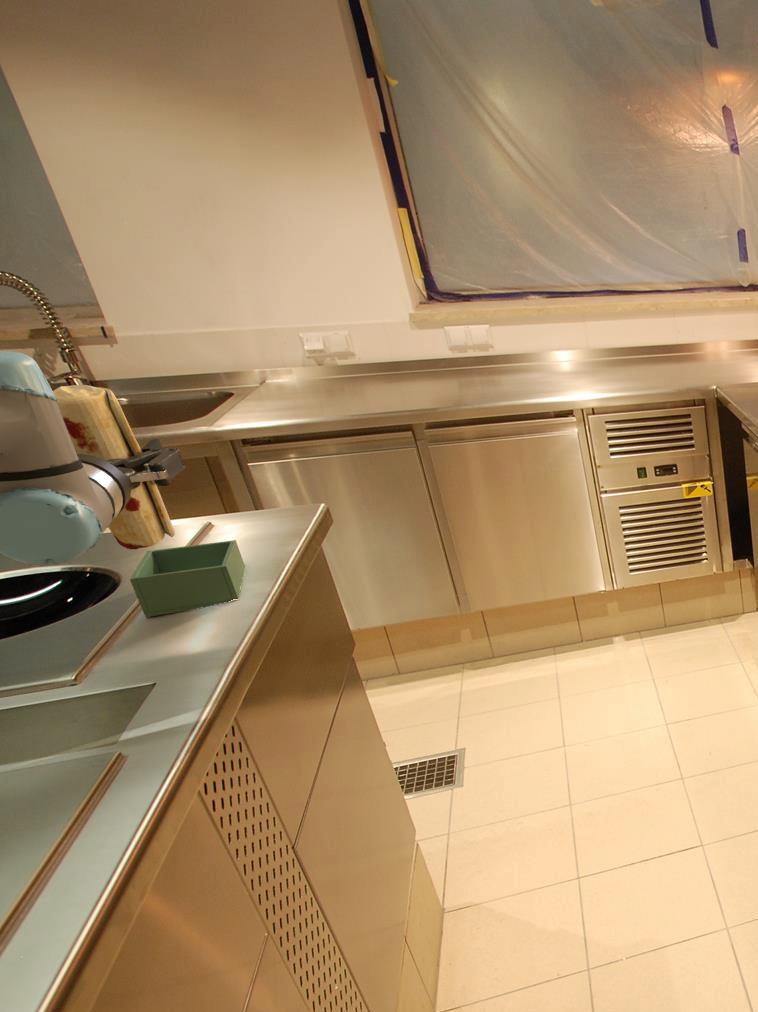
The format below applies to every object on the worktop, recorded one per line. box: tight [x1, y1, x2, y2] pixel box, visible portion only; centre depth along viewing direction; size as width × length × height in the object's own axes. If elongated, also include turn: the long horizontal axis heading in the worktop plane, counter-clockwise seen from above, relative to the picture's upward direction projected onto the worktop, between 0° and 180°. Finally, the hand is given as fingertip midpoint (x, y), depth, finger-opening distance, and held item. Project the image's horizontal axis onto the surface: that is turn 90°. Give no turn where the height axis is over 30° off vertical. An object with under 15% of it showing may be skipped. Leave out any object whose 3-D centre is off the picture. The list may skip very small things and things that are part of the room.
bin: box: [129, 540, 246, 618], centre depth 121 cm, size 10×13×6 cm
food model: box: [52, 384, 176, 550], centre depth 104 cm, size 10×7×20 cm
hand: (121, 452), depth 108 cm, fingers closed on food model, 7 cm apart
